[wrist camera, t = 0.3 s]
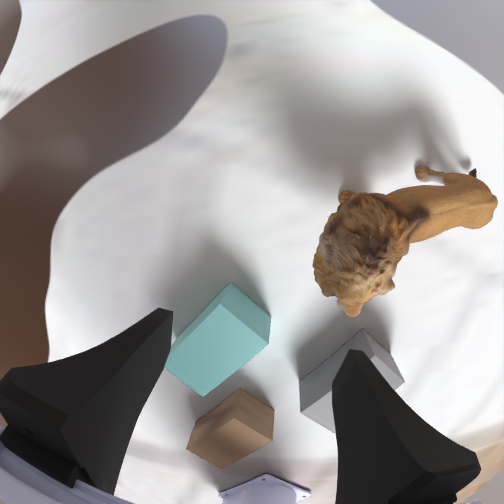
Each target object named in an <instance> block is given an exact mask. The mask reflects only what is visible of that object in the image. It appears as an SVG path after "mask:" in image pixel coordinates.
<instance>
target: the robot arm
mask: <svg viewBox="0 0 504 504" xmlns="http://www.w3.org/2000/svg"><path fill="white" fill-rule="evenodd" d="M172 321H173V311H169V310H166V309H162V308H158V309H156V310H154V311H153V312H151V313H150V314H149V315H147V316H146V317H144V318H143V319H141V320H140V321H138V322H137V323H136V324H134V325H132V326H131V327H129V328H128V329H126V330H125V331H123V332H122V333H120V334H118V335H116V336H115V337H113V338H111V339H109V340H108V341H106V342H104V343H102V344H100V345H98V346H96V347H94V348H91V349H89V350H87V351H84V352H82V353H79V354H76V355H73V356H70V357H67V358H64V359H61V360H57V361H53V362H49V363H44V364H39V365H33V366H25V367H16V368H11V369H10V370H9V371H8V373H7V374H6V375H5V376H4V377H3V378H2V379H1V380H0V413H1V414H2V416H3V417H4V419H5V421H6V422H7V423H8V425H7V427H6V428H5V430H4V429H3V428H2V427H1V426H0V499H1V500H3V501H4V502H5V503H7V504H134V503H131V502H128V501H126V500H123V499H120V498H118V497H115V496H114V491H115V488H116V484H117V480H118V476H119V473H120V469H121V466H122V463H123V459H124V456H125V453H126V450H127V447H128V444H129V441H130V438H131V436H132V433H133V430H134V427H135V425H136V422H137V419H138V417H139V415H140V413H141V411H142V408H143V407H144V405H145V403H146V401H147V399H148V397H149V395H150V393H151V392H152V390H153V388H154V386H155V384H156V382H157V380H158V378H159V377H160V375H161V373H162V371H163V369H164V366H165V364H166V361H167V358H168V356H169V353H170V350H171V336H172ZM332 408H333V416H334V423H335V431H336V439H337V446H338V479H337V493H336V502H335V504H453V503H454V502H456V501H457V497H456V493H457V492H459V491H460V490H461V489H463V488H464V487H465V486H467V485H468V484H469V483H470V482H472V481H473V480H474V479H475V478H476V477H477V476H478V475H479V473H480V471H481V467H480V464H479V461H478V458H477V456H476V453H475V452H473V451H471V450H469V449H467V448H465V447H463V446H461V445H459V444H457V443H455V442H454V441H452V440H450V439H449V438H447V437H446V436H444V435H443V434H441V433H440V432H438V431H437V430H436V429H434V428H433V427H432V426H430V425H429V424H428V423H427V422H425V421H424V420H423V419H422V418H421V417H420V416H419V415H418V414H416V413H415V412H414V411H413V410H412V409H411V408H410V407H409V406H408V405H407V404H406V403H405V402H404V401H403V399H402V398H401V397H400V396H399V395H398V394H397V393H396V392H395V390H394V389H393V388H392V387H391V386H390V384H389V383H388V382H387V381H386V379H385V378H384V377H383V376H382V374H381V373H380V372H379V370H378V369H377V368H376V367H375V365H374V364H373V363H372V361H371V360H370V359H369V358H368V356H367V355H366V354H365V353H364V352H363V351H361V350H354V349H349V351H348V353H347V355H346V357H345V359H344V361H343V363H342V364H341V366H340V368H339V370H338V372H337V374H336V376H335V378H334V380H333V382H332ZM218 496H219V497H220V498H223V503H222V504H296V502H297V501H300V500H302V499H304V498H307V497H309V496H311V492H309V491H306V490H304V489H301V488H299V487H296V486H294V485H292V484H289V483H287V482H285V481H282V480H280V479H278V478H276V477H274V476H271V475H269V474H264V475H262V476H260V477H258V478H255V479H253V480H251V481H249V482H246V483H244V484H241V485H239V486H237V487H234V488H232V489H229V490H226V491H224V492H221V493H219V495H218ZM466 504H481V503H480V500H478V499H477V500H474V501H471V502H469V503H466Z"/></svg>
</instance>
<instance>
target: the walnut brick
mask: <svg viewBox="0 0 504 504" xmlns="http://www.w3.org/2000/svg"><path fill="white" fill-rule="evenodd" d="M273 425H274V409H272V408H270V407H269V406H267V405H266V404H264V403H263V402H261V401H260V400H258V399H257V398H255V397H254V396H252V395H251V394H249V393H248V392H246V391H245V390H243V389H242V388H240V389H238V390H237V391H236V392H234V393H233V394H232V395H231V396H229V397H228V398H227V399H225V400H224V401H223V402H221V403H220V404H219V405H218V406H216V407H215V408H213V409H212V410H211V411H209V412H208V413H207V414H205V415H204V416H203V417H201V418H200V419H198V420H197V421H196V423H195V425H194V428H193V431H192V434H191V437H190V440H189V442H188V445H187V448H186V449H187V450H189V451H191V452H192V453H194V454H196V455H198V456H199V457H201V458H203V459H205V460H206V461H208V462H210V463H212V464H214V465H216V466H218V467H219V468H223V467H225V466H227V465H229V464H231V463H233V462H235V461H237V460H239V459H240V458H242V457H244V456H246V455H248V454H250V453H252V452H253V451H255V450H257V449H259V448H261V447H262V446H264V445H266V444H267V443H269V442H271V441H272V440H273Z"/></svg>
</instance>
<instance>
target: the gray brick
mask: <svg viewBox="0 0 504 504" xmlns="http://www.w3.org/2000/svg"><path fill="white" fill-rule="evenodd" d="M349 349H354V350H361V351H363V352H364V353H365V354H366V355H367V356H368V358H369V359H370V360H371V361H372V363H373V364H374V365H375V367H376V368H377V369H378V370H379V372H380V373H381V374H382V376H383V377H384V378H385V379H386V381H387V382H388V383H389V384H390V386H391V387H392V388H393V389H394V390H395V389H397V388H398V387H399V386H400V385H402V384H403V383H404V382H405V381H404V379H403V377H402V375H401V373H400V371H399V369H398V367H397V365H396V363H395V361H394V359H393V357H392V356H391V354H390V353H389V352H388V351H387V350H386V349H385V348H384V347H382V346H381V345H380V344H379V343H378V342H377V341H376V340H375V339H374V338H373V337H372V336H371V335H369V334H368V333H367V332H366V331H365V330H364V329H363V328H362V329H361V330H360V331H359V332H358V333H357V334H355V335H354V336H353V337H352V338H351V339H350V340H349V341H348V342H346V343H345V344H344V345H343V346H342V347H341V348H340V349H338V350H337V351H336V352H335V353H334V354H332V355H331V356H330V357H329V358H328V359H327V360H325V361H324V362H323V363H322V364H320V365H319V366H318V367H317V368H315V369H314V370H313V371H312V372H311V373H309V374H308V375H307V376H305V377H304V378H303V379H302V380H300V381H299V391H300V413H302V414H304V415H305V416H307V417H308V418H310V419H312V420H313V421H315V422H316V423H318V424H320V425H321V426H323V427H325V428H326V429H328V430H330V431H332V432H333V433H335V432H336V431H335V423H334V416H333V408H332V382H333V380H334V378H335V376H336V374H337V372H338V370H339V368H340V366H341V364H342V363H343V361H344V359H345V357H346V355H347V353H348V351H349Z"/></svg>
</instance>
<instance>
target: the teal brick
mask: <svg viewBox="0 0 504 504" xmlns="http://www.w3.org/2000/svg"><path fill="white" fill-rule="evenodd" d="M270 324H271V316H270V315H269V314H267V313H266V312H265V311H264V310H263V309H261V308H260V307H259V306H258V305H257V304H256V303H254V302H253V301H252V300H251V299H250V298H249V297H247V296H246V295H245V294H244V293H243V292H242V291H240V290H239V289H238V288H237V287H236V286H235V285H234V284H232V283H231V282H230V283H229V284H228V285H227V286H226V287H225V288H224V289H223V290H222V291H221V292H220V293H219V294H218V296H217V297H216V298H215V299H214V300H213V301H212V302H211V303H210V304H209V305H208V306H207V307H206V308H205V309H204V310H203V311H202V312H201V313H200V314H199V315H198V316H197V317H196V319H195V320H194V321H193V322H192V323H191V324H190V325H189V326H188V327H187V328H186V329H185V330H184V331H183V332H182V333H181V334H180V335H179V336H178V337H177V338H176V340H175V341H174V343H173V345H172V346H171V350H170V353H169V356H168V358H167V361H166V364H165V366H164V368H165V369H166V370H168V371H169V372H170V373H171V374H173V375H174V376H175V377H177V378H178V379H179V380H180V381H182V382H183V383H184V384H186V385H187V386H188V387H190V388H191V389H192V390H194V391H195V392H197V393H198V394H199V395H201V396H202V397H204V396H205V395H207V394H208V393H209V392H210V391H212V390H213V389H214V388H216V387H217V386H218V385H219V384H221V383H222V382H223V381H224V380H226V379H227V378H228V377H229V376H231V375H232V374H233V373H234V372H236V371H237V370H238V369H239V368H240V367H242V366H243V365H244V364H245V363H247V362H248V361H249V360H250V359H251V358H253V357H254V356H255V355H256V354H257V353H258V352H260V351H261V350H262V349H263V348H264V347H265V346H267V345H268V344H269V334H270Z"/></svg>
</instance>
